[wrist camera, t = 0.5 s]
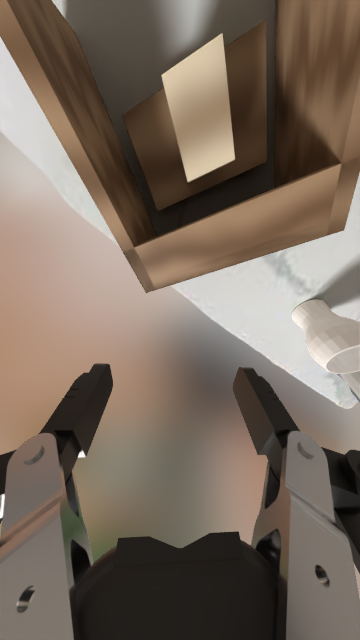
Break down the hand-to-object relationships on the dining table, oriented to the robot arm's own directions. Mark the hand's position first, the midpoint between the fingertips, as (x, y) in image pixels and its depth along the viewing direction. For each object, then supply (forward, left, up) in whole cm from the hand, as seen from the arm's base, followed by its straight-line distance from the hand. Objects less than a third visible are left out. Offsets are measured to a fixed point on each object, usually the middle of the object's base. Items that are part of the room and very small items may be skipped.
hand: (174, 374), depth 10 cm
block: (-12, +6, -24) cm, 28 cm away
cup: (+26, +25, -29) cm, 46 cm away
